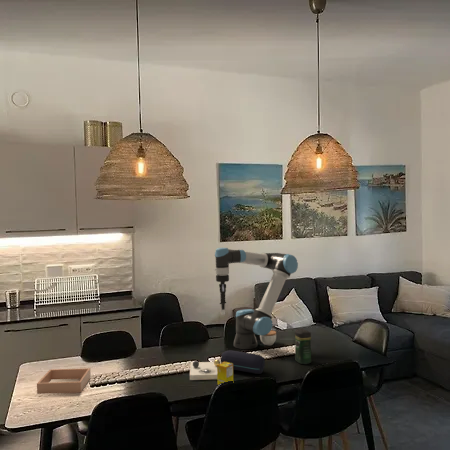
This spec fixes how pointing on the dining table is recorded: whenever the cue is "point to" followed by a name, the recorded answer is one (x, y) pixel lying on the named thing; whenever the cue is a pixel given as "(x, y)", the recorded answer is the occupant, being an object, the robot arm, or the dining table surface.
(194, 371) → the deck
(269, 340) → the lidded jar
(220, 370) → the supplement box
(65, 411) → the dining table surface
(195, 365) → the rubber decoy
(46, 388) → the brown square tray
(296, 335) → the coffee jar
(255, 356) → the portable speaker
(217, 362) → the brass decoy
